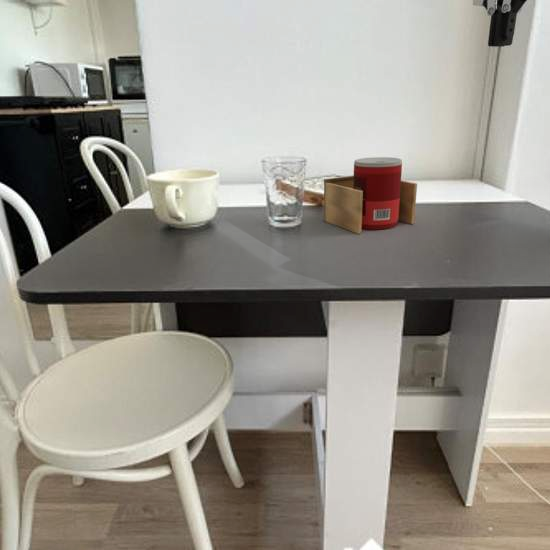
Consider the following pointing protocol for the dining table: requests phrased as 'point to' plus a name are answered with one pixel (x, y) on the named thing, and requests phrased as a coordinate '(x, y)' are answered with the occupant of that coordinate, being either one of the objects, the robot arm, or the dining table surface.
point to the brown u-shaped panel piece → (360, 203)
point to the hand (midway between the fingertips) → (499, 45)
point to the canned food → (378, 190)
